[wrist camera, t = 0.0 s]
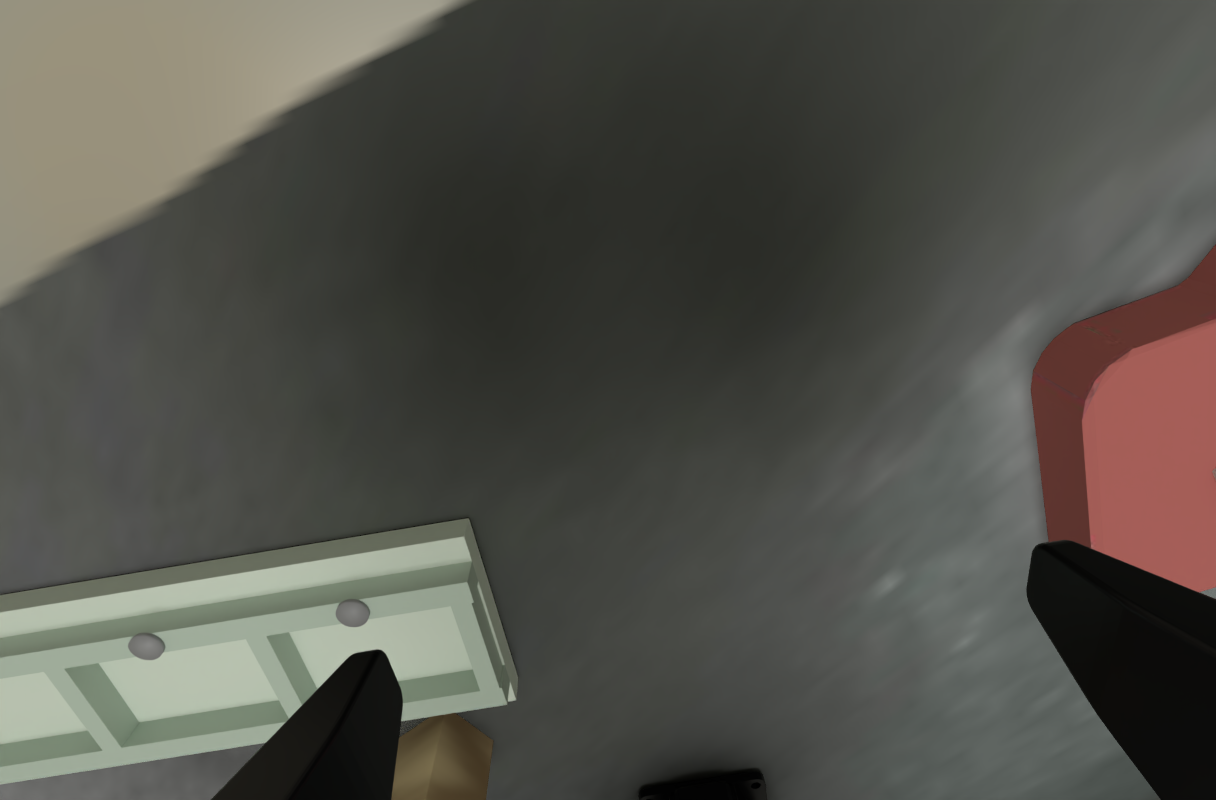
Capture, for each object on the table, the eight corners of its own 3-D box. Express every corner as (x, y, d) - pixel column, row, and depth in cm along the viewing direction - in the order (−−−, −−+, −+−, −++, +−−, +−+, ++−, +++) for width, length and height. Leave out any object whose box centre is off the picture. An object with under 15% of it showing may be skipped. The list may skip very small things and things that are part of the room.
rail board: (518, 678, 29) (513, 728, 27) (-7, 761, 30) (-58, 817, 27) (468, 518, 25) (457, 560, 23) (-132, 616, 26) (-203, 667, 24)
